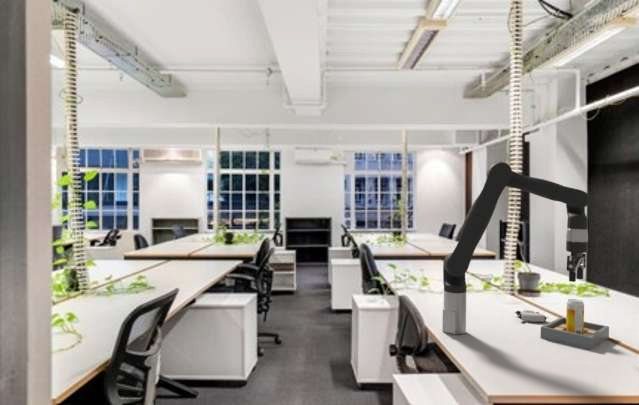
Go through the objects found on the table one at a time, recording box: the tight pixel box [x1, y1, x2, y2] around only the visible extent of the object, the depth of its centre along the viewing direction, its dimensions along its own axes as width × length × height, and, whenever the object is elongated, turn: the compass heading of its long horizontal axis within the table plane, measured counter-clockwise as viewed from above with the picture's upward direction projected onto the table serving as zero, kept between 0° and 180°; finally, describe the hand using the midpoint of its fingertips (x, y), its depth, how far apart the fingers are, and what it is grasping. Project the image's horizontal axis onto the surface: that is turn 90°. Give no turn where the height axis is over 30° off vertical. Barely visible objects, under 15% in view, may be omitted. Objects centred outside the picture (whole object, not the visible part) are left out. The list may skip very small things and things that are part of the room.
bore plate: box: [552, 323, 598, 336], centre depth 178 cm, size 14×14×3 cm
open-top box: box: [540, 317, 610, 351], centre depth 178 cm, size 22×18×6 cm
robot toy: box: [514, 309, 549, 324], centre depth 206 cm, size 12×4×15 cm
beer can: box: [565, 298, 585, 334], centre depth 178 cm, size 6×6×15 cm
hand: (576, 280), depth 178 cm, fingers open, 8 cm apart
